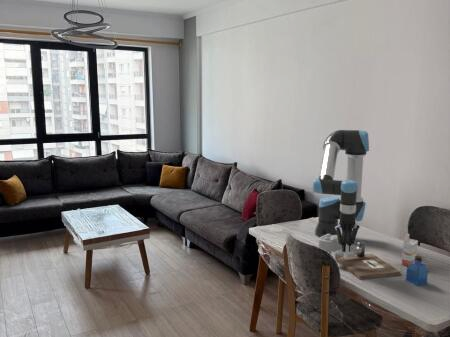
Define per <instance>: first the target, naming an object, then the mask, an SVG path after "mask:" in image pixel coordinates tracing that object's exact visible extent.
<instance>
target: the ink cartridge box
mask: <svg viewBox="0 0 450 337" xmlns="http://www.w3.org/2000/svg"><path fill="white" fill-rule="evenodd" d="M418 244H419V240H417V239H413V238H410V233H408V234H406V235H405V236H404V239H403V245H402V257H401V265H403V266H406V267H408V266H409V265H410V264H411V263H414V259H415V256H418V255H417V254H418Z"/></svg>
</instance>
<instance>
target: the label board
mask: <svg viewBox="0 0 450 337" xmlns="http://www.w3.org/2000/svg"><path fill="white" fill-rule="evenodd" d="M336 261H337V262H336ZM336 261H335V262H336V263H337V264H339V265H340V266H341V267H343V268H344V269H345V270H347V271H348V272H349V273H350V274H352V275H353V276H354V277H355V278H357V279H358V280H365V279H375V278H382V277H383V278H384V277H391V276H399V275H401V272H402V271H400V270H399V269H398V268H395V267H394V266H393V265H391V264H390V263H388V262H387V261H385V260H383V259H381V257H378V256H377V255H375V254H373V253H369V254H366V253H365V256H364V257H359V256H357V254H355V255H351V256H348V259H345V258H344V257H343V258H338V259H336Z"/></svg>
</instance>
